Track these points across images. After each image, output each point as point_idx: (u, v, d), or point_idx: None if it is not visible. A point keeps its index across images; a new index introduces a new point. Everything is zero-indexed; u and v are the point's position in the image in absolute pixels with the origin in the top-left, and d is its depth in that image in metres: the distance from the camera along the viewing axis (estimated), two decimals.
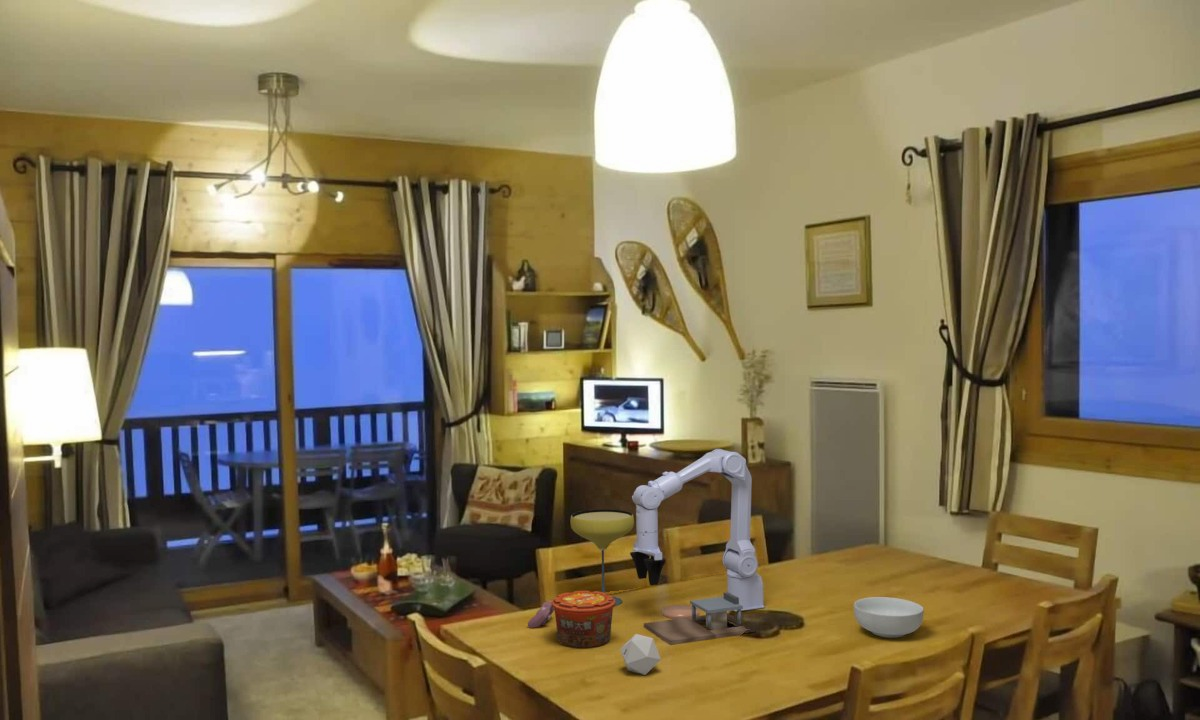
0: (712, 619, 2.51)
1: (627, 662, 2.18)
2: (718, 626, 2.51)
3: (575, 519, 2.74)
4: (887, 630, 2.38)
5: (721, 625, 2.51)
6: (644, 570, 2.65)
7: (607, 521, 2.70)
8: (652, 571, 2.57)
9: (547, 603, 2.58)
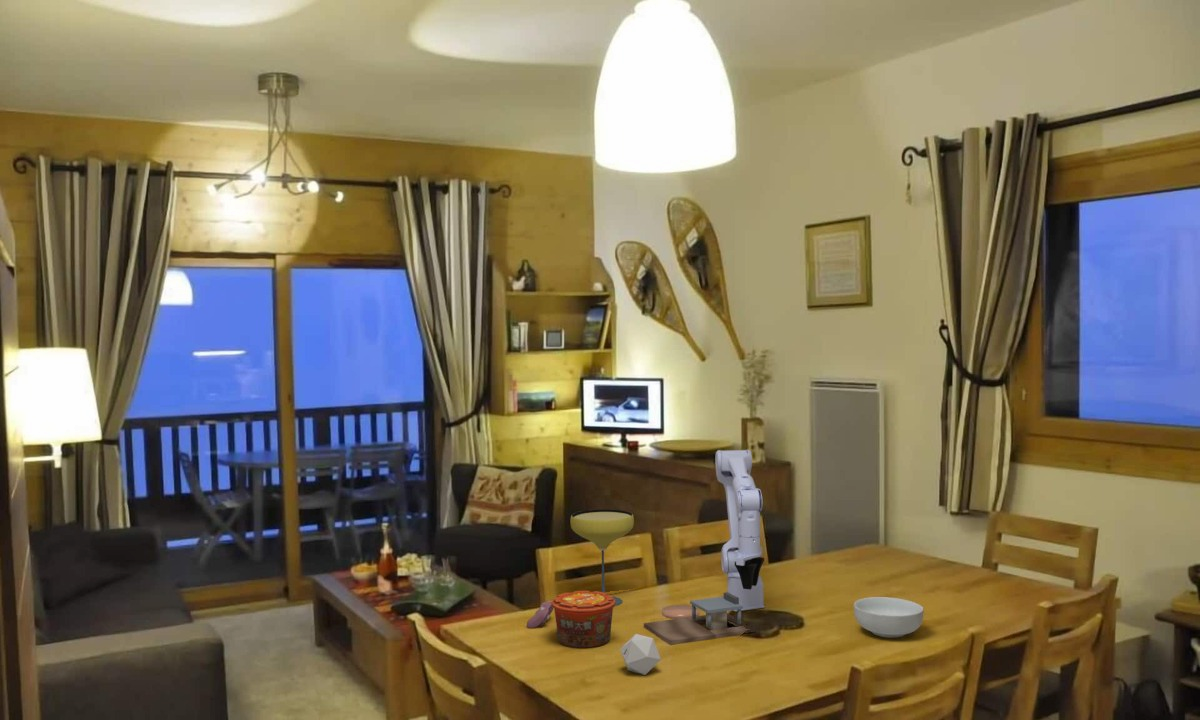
0: (712, 619, 2.51)
1: (627, 662, 2.18)
2: (718, 626, 2.51)
3: (575, 519, 2.74)
4: (887, 630, 2.38)
5: (721, 625, 2.51)
6: (754, 577, 2.58)
7: (607, 521, 2.70)
8: (744, 574, 2.54)
9: (546, 603, 2.58)
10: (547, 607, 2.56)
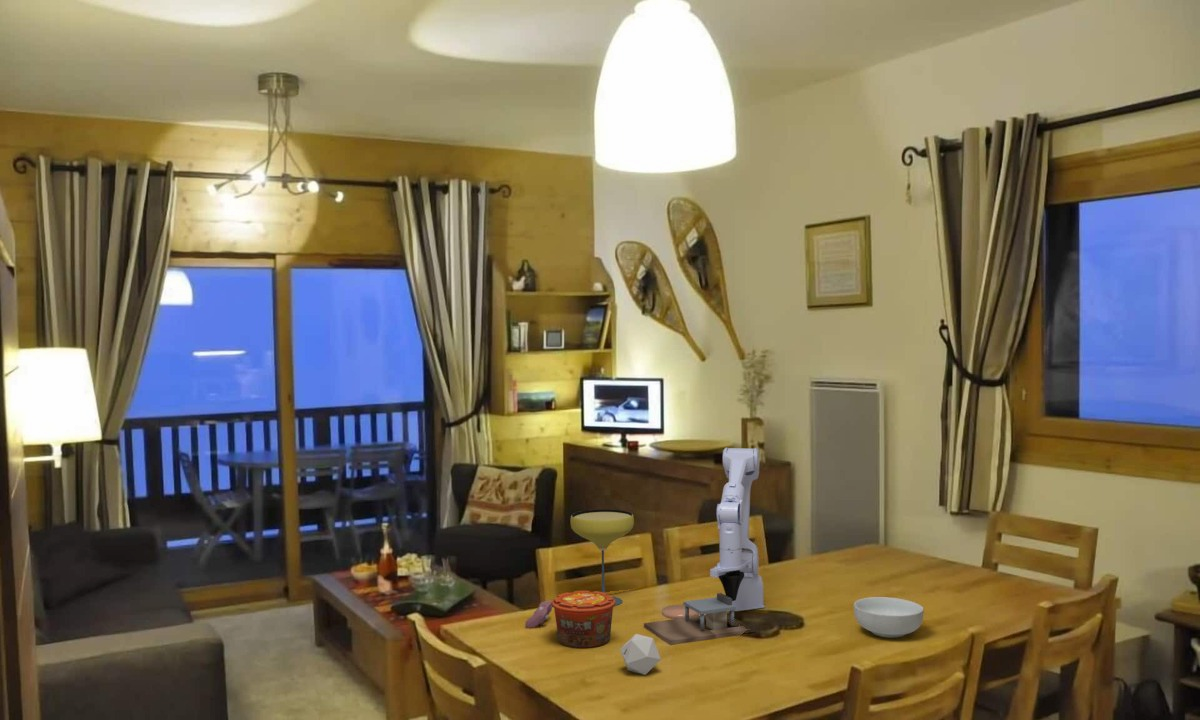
0: (712, 619, 2.51)
1: (627, 662, 2.18)
2: (718, 626, 2.51)
3: (575, 519, 2.74)
4: (887, 630, 2.38)
5: (721, 625, 2.51)
6: None
7: (607, 521, 2.70)
8: (727, 586, 2.54)
9: (544, 603, 2.58)
10: (546, 607, 2.56)
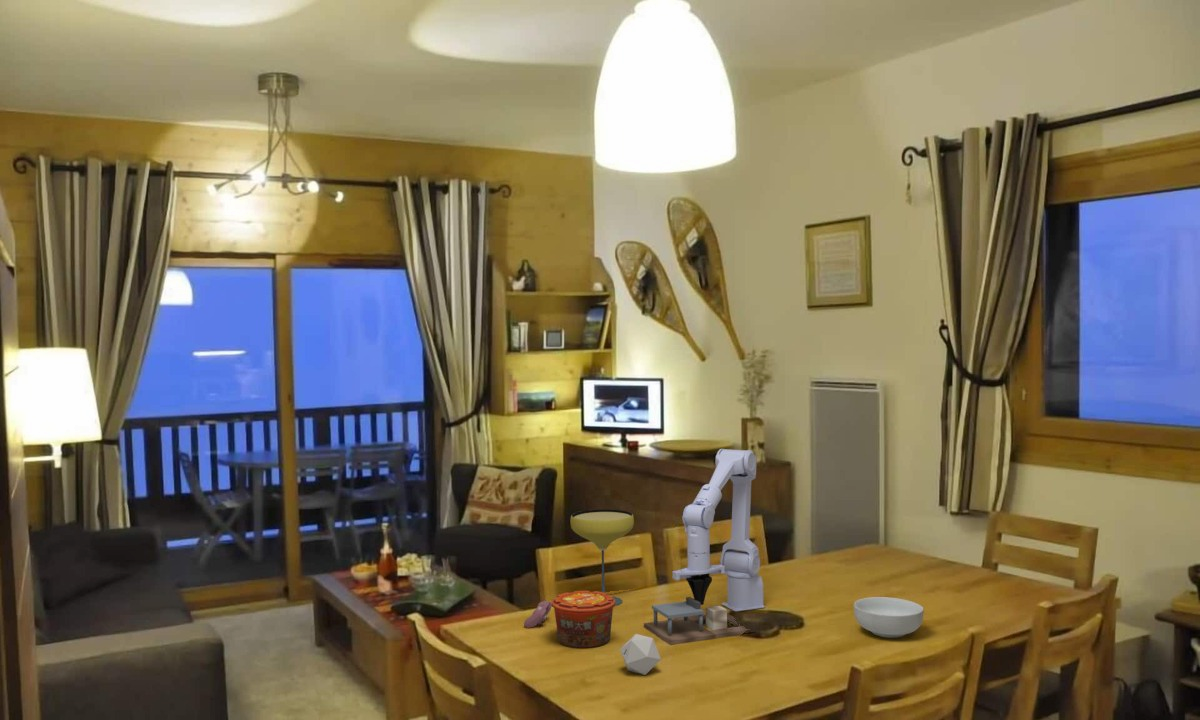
0: (712, 619, 2.51)
1: (627, 662, 2.18)
2: (718, 626, 2.51)
3: (575, 519, 2.74)
4: (887, 630, 2.38)
5: (721, 625, 2.51)
6: None
7: (607, 521, 2.70)
8: (695, 589, 2.51)
9: (543, 603, 2.58)
10: (544, 607, 2.56)
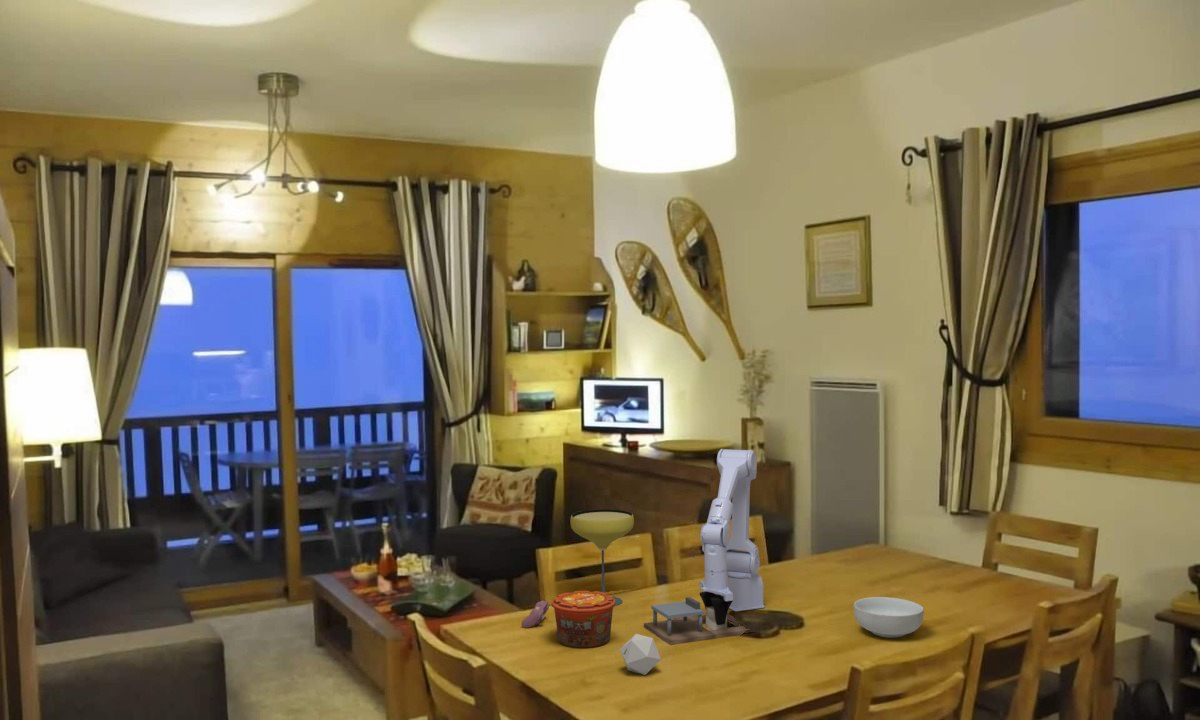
0: (712, 619, 2.51)
1: (627, 662, 2.18)
2: (718, 625, 2.51)
3: (575, 519, 2.74)
4: (887, 630, 2.38)
5: (721, 625, 2.51)
6: None
7: (607, 521, 2.70)
8: (719, 610, 2.50)
9: (541, 603, 2.58)
10: (542, 607, 2.56)
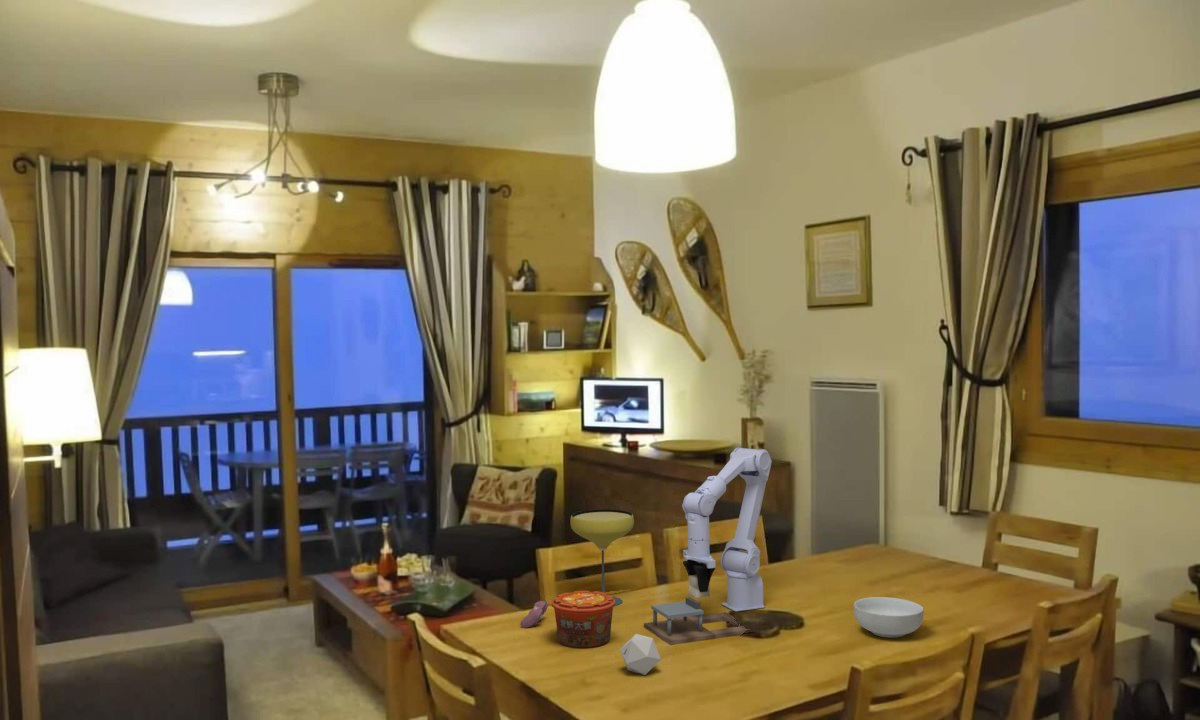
0: (695, 586, 2.56)
1: (627, 662, 2.18)
2: (701, 593, 2.57)
3: (575, 519, 2.74)
4: (887, 630, 2.38)
5: (704, 592, 2.57)
6: None
7: (607, 521, 2.70)
8: (702, 578, 2.56)
9: (539, 603, 2.58)
10: (541, 607, 2.56)
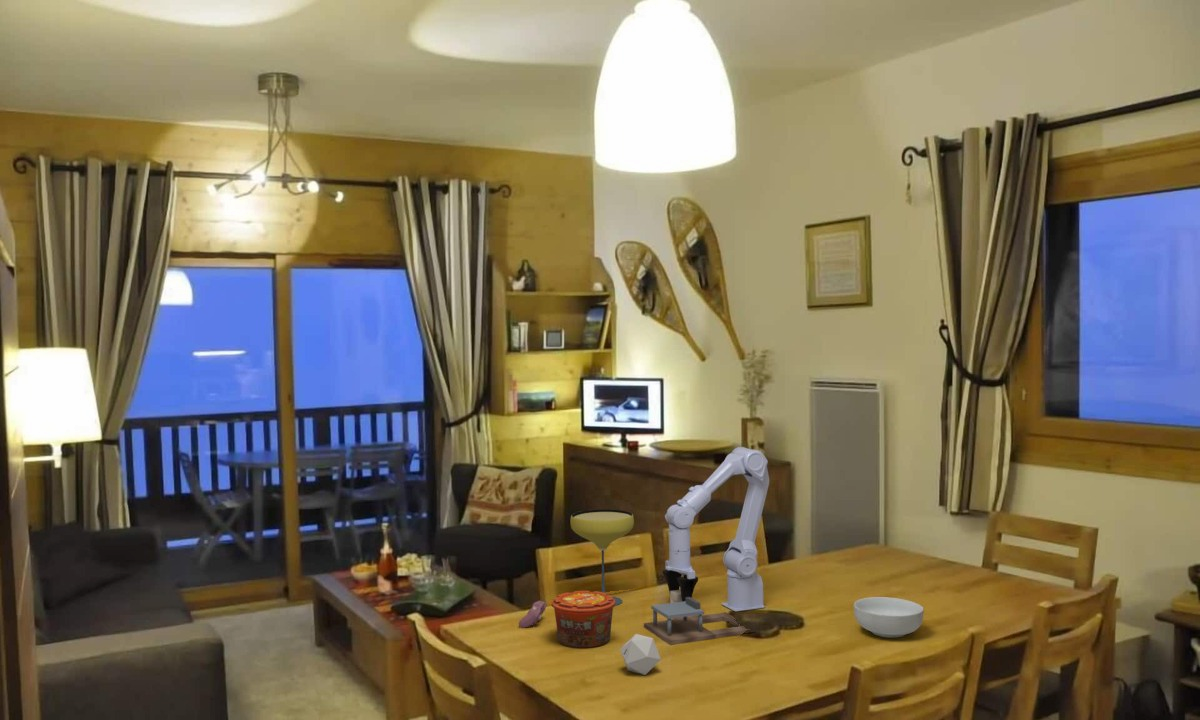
0: None
1: (627, 662, 2.18)
2: None
3: (575, 519, 2.74)
4: (887, 630, 2.38)
5: None
6: (676, 588, 2.69)
7: (607, 521, 2.70)
8: (685, 589, 2.62)
9: (538, 603, 2.58)
10: (539, 607, 2.57)
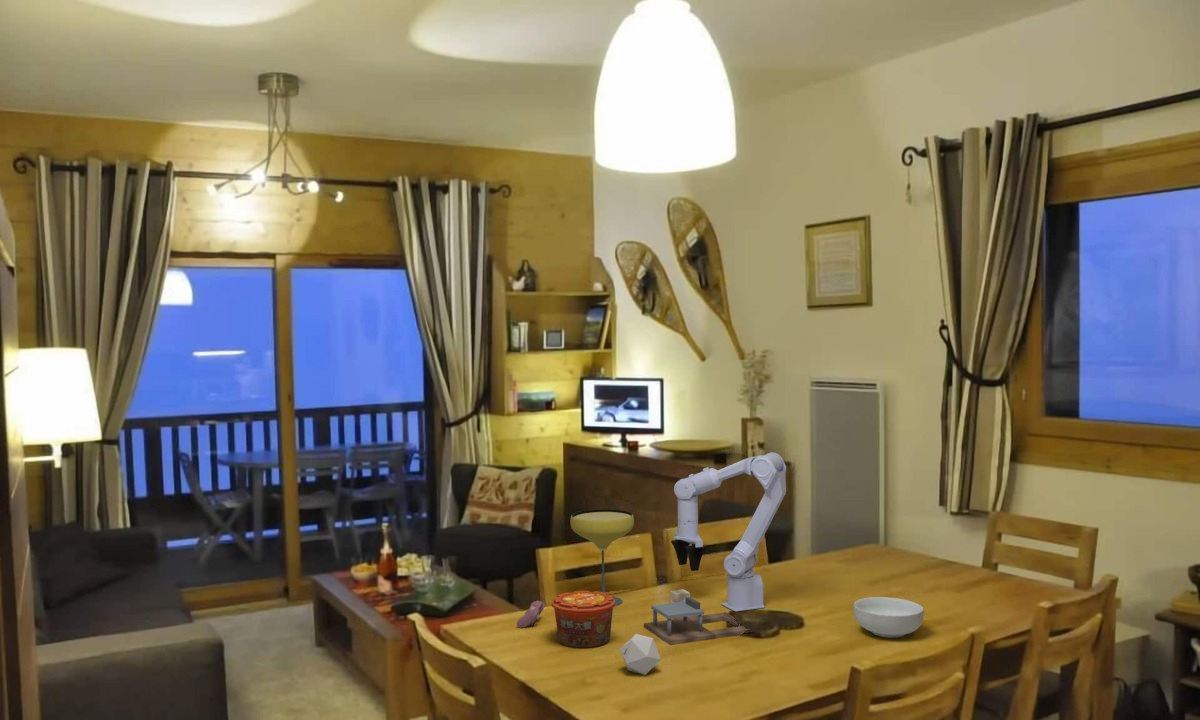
0: None
1: (627, 662, 2.18)
2: None
3: (575, 519, 2.74)
4: (887, 630, 2.38)
5: None
6: (685, 557, 2.82)
7: (607, 521, 2.70)
8: (693, 557, 2.74)
9: (536, 603, 2.58)
10: (537, 607, 2.57)
